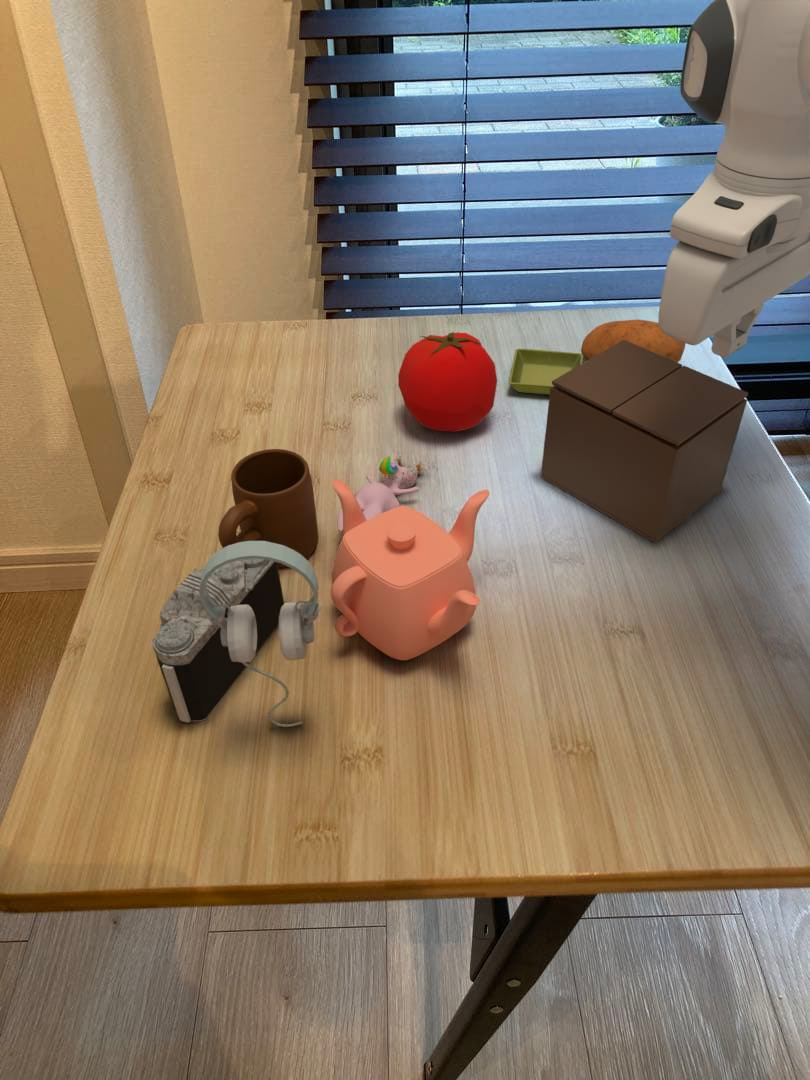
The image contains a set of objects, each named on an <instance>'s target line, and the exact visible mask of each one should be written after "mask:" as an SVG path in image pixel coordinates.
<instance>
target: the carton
mask: <svg viewBox="0 0 810 1080" xmlns="http://www.w3.org/2000/svg"><path fill="white" fill-rule="evenodd" d="M682 366H683V364H682V363H679V362H678V363H677V362H675V361H672V360H670V359H668V358H665V357H663V356H661V355H658V354H656V353H654V352H651V351H649V350H647V349H644V348H642V347H640V346H637V345H635V344H633V343H630V342H628V341H626V340H623V341H621V342H619V343H617V344H616V345H614V346H612V347H610V348H609V349H607V350H605V351H603V352H602V353H600V354H598V355H596V356H595V357H593V358H591V359H590V360H586V361H583V362H582V364H581V365H579V366H577V367H576V368H574V369H572V370H570V371H569V372H567V373H565V374H563V375H562V376H560V377H558V378H557V379H555V380H553V381H552V385H554V386H553V387H551V388H550V395H549V396H548V407H547V416H546V423H545V436H544V443H543V453H542V463H541V470H540V471H541V472H540V478H541V479H543V480H544V481H546V482H548V483H549V484H551V485H553V486H554V487H556V488H558V489H560V490H561V491H563V492H565V493H567V494H568V495H571V496H572V497H574V498H576V499H577V500H579V501H581V502H583V503H584V504H586V505H588V506H589V507H591V508H593V509H595V510H596V511H598V512H600V513H602V514H603V515H605V516H607V517H608V518H609V519H612V520H614V521H616V522H617V523H619V524H620V525H622V526H625V527H626V528H628V529H630V530H631V531H633V532H634V533H637V534H638V535H640V536H642V537H644V538H645V539H647V540H648V541H650V542H652V543H654V544H656V543H657V542H659V541H660V540H661V539H662V538H664V537H665V536H666V535H667V534H668V533H670V532H671V531H673V530H674V529H675V528H676V527H678V526H679V525H680V524H681V523H682V522H684V521H685V520H686V519H688V518H689V517H690V516H691V515H692V514H694V513H695V512H696V511H698V510H699V509H700V508H701V507H703V506H704V505H705V504H707V503H708V502H709V501H710V500H711V499H713V498H714V497H715V496H716V495H718V494H719V493H720V492H721V491H722V488H723V484H724V481H725V477H726V474H727V471H728V467H729V464H730V461H731V457H732V453H733V450H734V447H735V444H736V440H737V436H738V433H739V430H740V426H741V423H742V419H743V416H744V413H745V410H746V406H747V403H748V399H746V398H744V399H743V400H741V401H740V402H739V403H737V404H736V405H734V406H733V407H732V408H730V409H729V410H727V411H726V412H725V413H723V414H722V415H720V416H719V417H718V418H716V419H715V420H713V421H712V422H711V423H709V424H708V425H706V426H705V427H704V428H702V429H701V430H699V431H698V432H697V433H695V434H694V435H692V436H691V437H690V438H688V439H687V440H685V441H684V442H683V443H681V444H680V445H678V446H674V445H672V444H670V443H668V442H666V441H664V440H662V439H660V438H658V437H656V436H654V435H652V434H650V432H648V431H646V430H644V429H642V428H640V427H638V426H636V425H634V424H631V423H629V422H627V421H625V420H623V419H621V418H619V417H617V416H615V415H613V414H612V412H613V410H615V409H616V408H618V407H619V406H621V405H623V404H624V403H626V402H627V401H629V400H630V399H632V398H634V397H635V396H637V395H638V394H640V393H641V392H643V391H645V390H646V389H648V388H649V387H651V386H652V385H654V384H656V383H657V382H659V381H660V380H662V379H663V378H665V377H667V376H668V375H670V374H671V373H673V372H674V371H676V370H678V369H679V368H681V367H682Z"/></svg>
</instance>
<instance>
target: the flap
mask: <svg viewBox="0 0 810 1080" xmlns="http://www.w3.org/2000/svg"><path fill="white" fill-rule="evenodd" d="M748 396H749V392H748V391H745V390H743V389H741V388H739V387H736V386H734V385H731V384H728V383H726V382H723V380H719V379H718V378H714V377H712V376H710V375H707V374H706V373H703V372H700V371H698V370H696V369H693V368H691V367H689V366H687V365H682V367H681V368H679V369H678V370H676V371H674V372H673V373H671V374H670V375H668V376H667V377H665V378H663V379H662V380H660V381H659V382H657V383H656V384H654V385H652V386H651V387H649V388H648V389H646V390H645V391H643V392H641V393H640V394H638V395H637V396H635V397H634V398H632V399H630V400H629V401H627V402H626V403H624V404H623V405H621V406H619V407H618V408H616V409H615V410H613V412H612V414H613V415H615V416H617V417H619V418H621V419H623V420H625V421H627V422H629V423H631V424H634V425H636V426H638V427H640V428H642V429H644V430H646V431H648V432H650V433H652V434H654V435H656V436H658V437H660V438H662V439H664V440H666V441H668V442H670V443H672V444H674V445H676V446H678V445H680V444H681V443H683V442H684V441H685V440H687V439H688V438H690V437H691V436H692V435H694V434H695V433H697V432H698V431H699V430H701V429H702V428H704V427H705V426H706V425H708V424H709V423H711V422H712V421H713V420H715V419H716V418H718V417H719V416H720V415H722V414H723V413H725V412H726V411H727V410H729V409H730V408H732V407H733V406H734V405H736V404H737V403H739V402H740V401H741V400H743V399H746V398H747V397H748Z"/></svg>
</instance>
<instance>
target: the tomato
mask: <svg viewBox="0 0 810 1080" xmlns="http://www.w3.org/2000/svg"><path fill="white" fill-rule="evenodd" d="M419 337H420V338H422V339H421V340H419V341H417V342H415V343H414V344H412V345H411V347H410V348H409V349H408V350H407V351H406V353H405V354H404V357H403V360H402V362H401V365H400V369H399V371H398V377H397V378H398V388H399V390H400V393H401V396H402V400H403V402H404V405H405V408H406V410H407V411H408V412H409V413H410V414H411V416H413V418H414V419H415V420H416V421H417V422H418V423H419V424H421V425H423V426H424V427H426V428H428V429H431V430H434V431H440V432H453V433H455V432H460V431H466V430H470V429H472V428H474V427H476V426H477V425H479V423H481V422H482V420H484V419H485V418H486V417H487V416H488V415H489V414H490V412H491V411H492V409H493V407H494V403H495V398H496V392H497V386H498V377H497V370H496V364H495V362H494V360H493V359H492V357H491V356H490V355H489V353H488V351H487V350H486V349H485V348H484V347H483V343H482V342H481V341H480V339H478V338H476V337H475V336H474V335H471V334H469V333H467V332H459V331H457V332H454V331H453V332H448V334H446V335H435V334H429V335H427V336H425V335H421V336H420V335H419Z"/></svg>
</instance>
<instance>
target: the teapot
mask: <svg viewBox="0 0 810 1080" xmlns="http://www.w3.org/2000/svg"><path fill="white" fill-rule="evenodd" d="M331 484H332V487H333V489H334V491H335V493H336V494H337V496H338V498H339V503H340V504H341V507H342V510H343V530H342V539H341V540H340V544H339V546H338V549H337V551H336V555H335V558H334V563H333V566H332V567H333V568H332V576H331V589H330V596H331V599H332V602H333V604H334V605H335V607H336V608H337V610H339V612H341V613H342V614H341V615H339V616H338V617H337V618H336V619H335V621H334V629H335V632H336V633H337V635H339V636H341V637H345V638H346V637H351V636H354V635H356V634H357V633H358V635H360V636H361V637H363V639H365V640H366V641H367V642H368V643H370V644H371V645H372V646H373V647H375V648H376V649H377V650H379V651H380V652H382V653H383V654H385V655H387V656H388V657H390V658H392V659H396V660H398V661H409V660H411V659H413V658H416V657H418V656H420V655H423V654H424V653H426V652H428V651H429V650H432V649H433V648H435V647H437V646H438V645H440V644H442V643H444V642H445V641H446V640H448V639H450V638H451V637H452V636H454V635H455V634H457V633H458V632H459V631H461V630H462V629H463V628H464V627H465V626H466V625H467V624H469V622H470V620H472V618H473V617H474V615H475V613H476V609H477V606H479V605H480V604H481V599H480V597H479V596H477V593H476V591H477V590H476V584H475V581H474V577H473V575H472V572H471V569H470V567H469V564H468V563H469V561H470V559H471V556H472V553H473V550H474V545H475V529H476V521H477V517H478V513H479V512H480V510H481V508H482V506H483V505H484V503H485V502H486V500H487V499H488V498H489V496H490V490H488V489H483V490H480V491H478V492H476V493H474V494H473V495H471V497H469V498H468V499H467V500H466V502H465V504H464V505H463V506H462V508H461V510H460V511H459V513H458V516H457V517H456V520H455V522H454V524H453V525H452V528H451V529H450V531H449V532H448V531H447V530H445V529H444V528H443V527H442V526H441V525H440V524H439V523H437V522H436V521H435V520H434V519H431V518H430V517H428V516H427V515H426V514H424V513H422V512H421V511H419V510H417V509H414V508H413V507H410V506H406V505H400V506H399V507H396V508H393V509H391V510H388V511H386V512H384V513H381V514H379V515H377V516H375V517H373V518H371V519H369V520H366V518H365V516H364V514H363V512H362V510H361V508H360V506H359V503H358V501H357V499H356V497H355V494H354V492H353V490H352V489H351V488H350V487H349V486H348V484H347V483H346V482H344V481H343V480H341V479H337V478H335V479H333V480H332V483H331Z"/></svg>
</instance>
